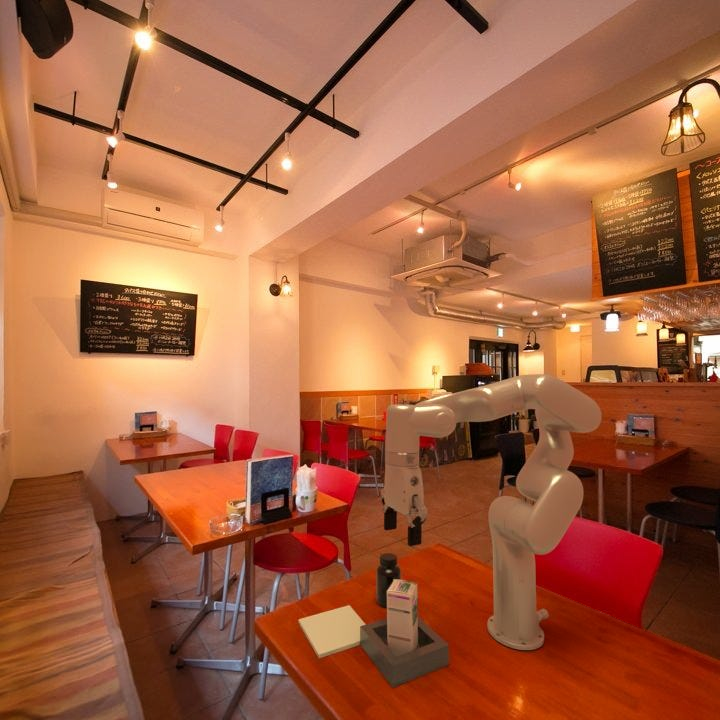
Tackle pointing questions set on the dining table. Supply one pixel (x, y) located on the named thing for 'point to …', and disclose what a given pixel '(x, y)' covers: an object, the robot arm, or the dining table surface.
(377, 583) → the supplement bottle
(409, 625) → the syrup box
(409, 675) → the collar
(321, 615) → the pad
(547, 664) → the dining table surface
